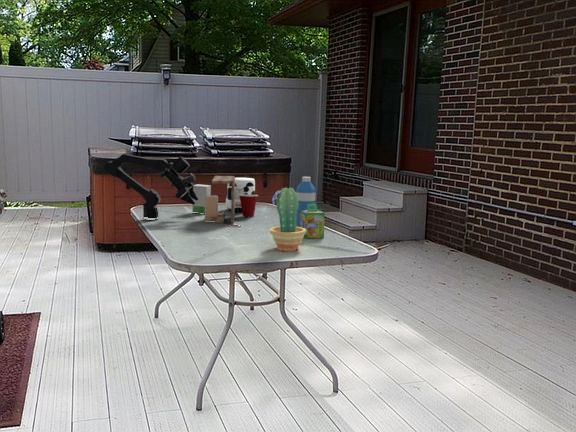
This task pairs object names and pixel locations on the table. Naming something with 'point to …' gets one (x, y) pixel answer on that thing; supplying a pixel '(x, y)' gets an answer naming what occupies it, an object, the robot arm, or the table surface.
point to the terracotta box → (211, 206)
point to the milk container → (240, 191)
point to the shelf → (231, 181)
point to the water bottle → (305, 196)
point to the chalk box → (312, 222)
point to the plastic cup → (248, 204)
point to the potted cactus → (287, 221)
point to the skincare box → (201, 197)
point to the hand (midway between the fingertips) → (196, 202)
